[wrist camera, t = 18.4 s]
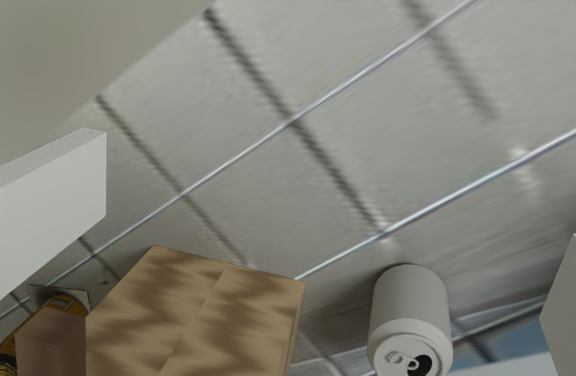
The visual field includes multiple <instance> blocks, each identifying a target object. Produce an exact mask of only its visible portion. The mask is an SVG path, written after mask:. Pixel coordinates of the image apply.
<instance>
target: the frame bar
mask: <svg viewBox="0 0 576 376" xmlns="http://www.w3.org/2000/svg"><path fill="white" fill-rule="evenodd" d="M15 347H16V360H17V373H18V376H86V318H85V317H82V316H78V315H74V314H70V313H67V312H63V311H59V310H56V309H52V308H48V307H44V308H43V309H41V310H40V311H39V312H38V313H37V314H36V315H35V316H34V317H33V318H32V319H30V320H29V321H28V322H27V323H26V324H25V325H24V326H23V327H22V328H21V329H19V330H18V331H17V332H16V333H15Z"/></svg>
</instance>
